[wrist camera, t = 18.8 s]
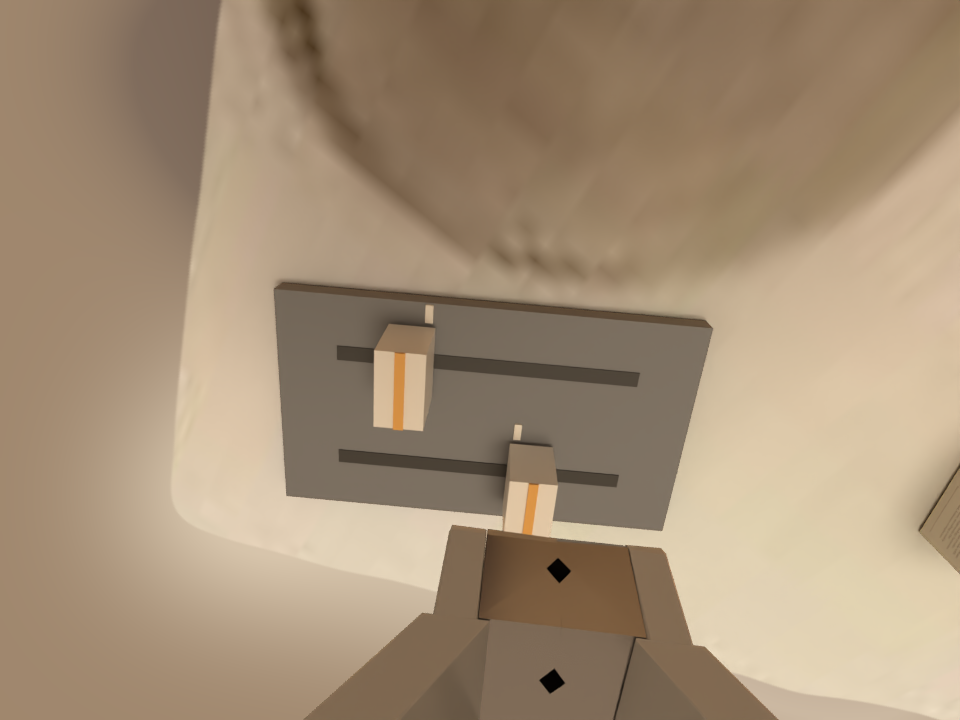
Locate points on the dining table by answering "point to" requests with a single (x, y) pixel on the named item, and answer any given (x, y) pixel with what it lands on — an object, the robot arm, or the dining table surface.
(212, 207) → the dining table surface
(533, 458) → the fader
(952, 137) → the dining table surface
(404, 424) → the fader
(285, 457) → the console
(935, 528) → the small box
